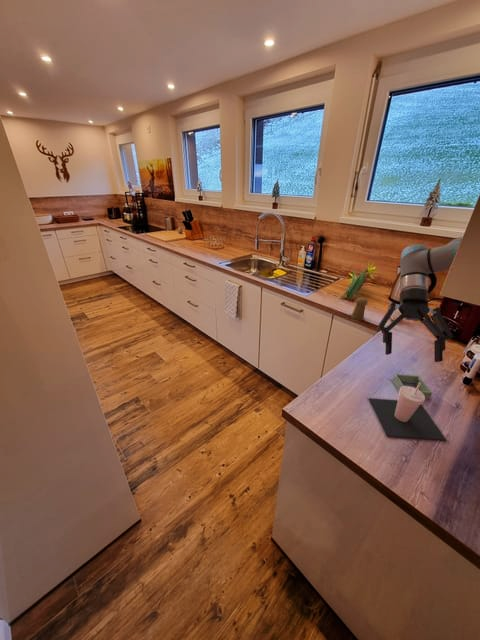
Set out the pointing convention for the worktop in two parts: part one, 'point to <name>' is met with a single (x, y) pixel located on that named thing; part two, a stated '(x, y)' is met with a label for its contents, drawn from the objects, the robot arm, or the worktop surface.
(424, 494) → the worktop surface
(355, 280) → the daffodil flowers
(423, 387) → the holder
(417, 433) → the mat
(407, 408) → the smoothie
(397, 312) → the geometric ball
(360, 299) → the brown tapered tower
